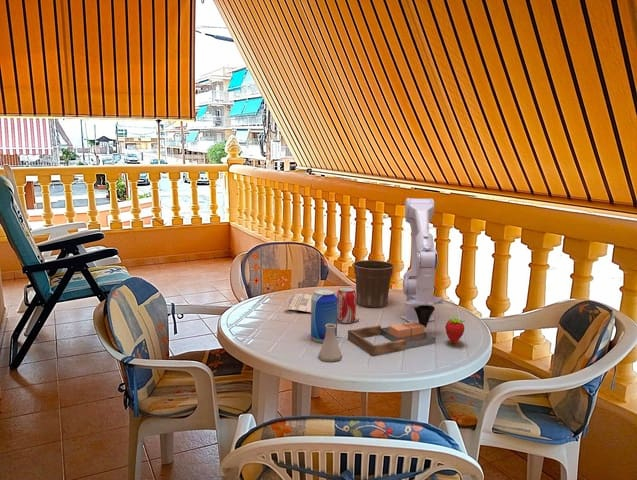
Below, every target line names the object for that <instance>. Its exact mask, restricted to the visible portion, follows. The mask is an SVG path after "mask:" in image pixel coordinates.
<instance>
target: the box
mask: <svg viewBox="0 0 637 480" xmlns="http://www.w3.org/2000/svg"><path fill="white" fill-rule="evenodd" d="M381 328H382V326H381V325H379V324H378V325H373V326H365V327H360V328H355V329H348V330H347V340H348V341H349V342H352V343H353V344H354V345H356V346H357V347H359V348H360V349H362V350H363V351H364V352H365V353H367V354H369V355H370V356H372V357H376V356H379V355H387V354H391V353H396V352H401V351H405V350H407V349H406V340H398V341H393V342H392V341H389V342H382V343H378V344H373V343H371V342H370V341H369V340H367V339H365V338H368V337H375V336H382V335H381Z"/></svg>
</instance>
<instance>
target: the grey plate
mask: <svg viewBox="0 0 637 480" xmlns="http://www.w3.org/2000/svg"><path fill="white" fill-rule="evenodd" d="M380 336H382V337H384V338H385V339H387V340H388V341H389V342H393V341H398V340H406V350H407V349H412V348H417V347H423V346H427V345H432V344H436V339H437V338H436V336H434V335H432V334H430V333H428V332H426V331H425V330H424V333H422V334H416V335H411V336H405V337H400V338H397V337H395V336H394V335H392V334H390V333H389V326H387V327H381V335H380Z"/></svg>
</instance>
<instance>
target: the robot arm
mask: <svg viewBox="0 0 637 480" xmlns="http://www.w3.org/2000/svg"><path fill="white" fill-rule="evenodd" d="M434 214H435V200H434V199H433V198H431V197H430V198H411V197H407V198H406V199H405V202H404V218H405V223H407V224H409V226H410V227H409V228H410V238H411V239H410V245H411V246H410V248H411V249H410V253H411V255H410V259H411V260H410V262H411V263H410V269H409V270H407V271H406V272H405V273H404V274H403V276H402V277H403V279H402V292H403V294H404V296H406V299H405V302H404V304H403V305H404V306H403V307H404V308H405V315H401V316H400V318H401V319H403V320H405V321H407V323H408V322H414V321H416V322H418V323H420V324H422V325H424V326H425V328H428V327H427V326H428V323H429V322H432V321H435V319H434V312H435V310H436V308H435V306H434V305H443V304H444V298H443V297H441V296H435V297H434V293H435V279H436V276H435V275H436V269H437V268H438V263H439V259H438V258H439V256H438V251H437V249H436V248H435V243H434V236H433V235H432V233H430V222H431V220H432V218H433V216H434Z"/></svg>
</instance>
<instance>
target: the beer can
mask: <svg viewBox="0 0 637 480" xmlns="http://www.w3.org/2000/svg"><path fill="white" fill-rule="evenodd" d="M312 295H313V296H312V298H311V312H310V336H311V338H312V340H313V341H315V342H317V343H321V344H323V342H324V339H325V336H326V327H325V325H326V324H335V325H336V328H335V334H336V337H337V335H338V320H337V301H338V299H337V294H336V291H335V290H333V289H331V288H318V289H315V290H314V293H313V294H312Z"/></svg>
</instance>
